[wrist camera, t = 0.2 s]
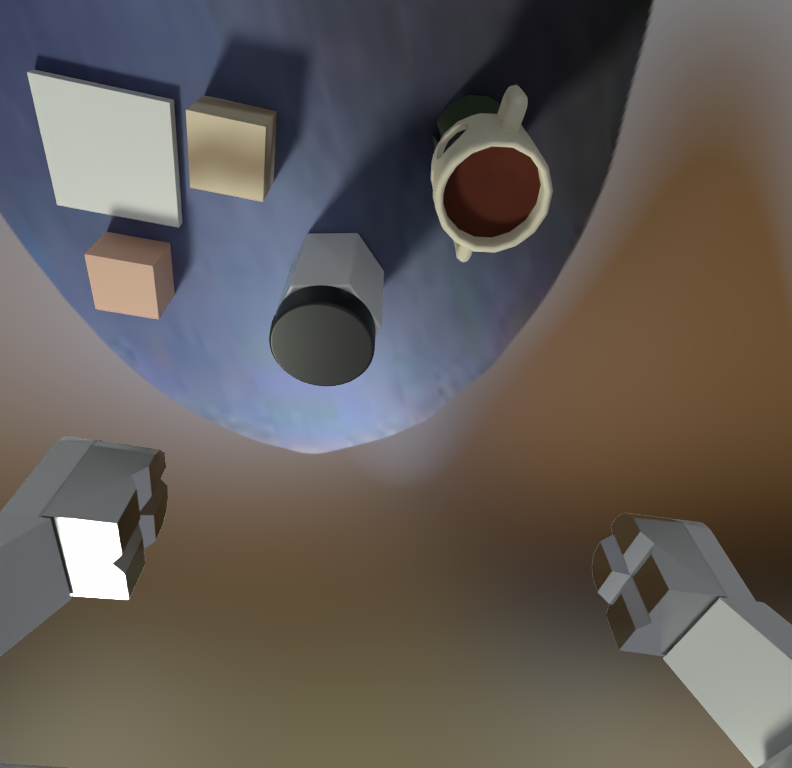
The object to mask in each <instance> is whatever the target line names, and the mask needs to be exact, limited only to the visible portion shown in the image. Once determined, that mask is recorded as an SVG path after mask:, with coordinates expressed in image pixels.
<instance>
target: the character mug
mask: <svg viewBox="0 0 792 768" xmlns="http://www.w3.org/2000/svg"><path fill="white" fill-rule="evenodd" d="M527 104H528V99H527V96H526V94H525V93H524V92H523V90H522V89H521V88H520V87H519V86H518V85H513V86H509V87H508V89H507V90H506V92H505V94H504V96H503V99H502V101H501V104H500V103H498V102H497V101H495V100H493V99H492V98H490V97H488V96H479V95H467V96H465V97H463V98H461V99H459V100H456V101H454V102H452V103H450V105H449V106H448V107H447V108H446V109H445V110H444V112H443V113H442V114H441V115H440V116H439V117H438V120H437V124H438V127H439V130H440V133H439V143H438V142H437V141H436V139H435V136H434V135H433V138H432V141H433V146H434V154H433V158H432V164H431V182H432V186H433V200H434V203H435V209H436V212H437V215H438V217H439V220H440V223H441V226H442V228H443V229H444V230H445V231H446V232H447V233H448V235H449V236H450V237H451V238H452V239H453V240H454V243H455V249H456V255H457V258H458V259H459V260H460V261H461V262H466V261H468V260H469V258H470V257H471V255H472V253H473V251H475V252H498V251H501V250H504V249H508V248H511V247H514V246H517V245H518V244H519V243H521V242H522V241H523V240H525V239H526V238H528V237H529V236H530V235H532V234H533V233H534V232H535V231H536V230H537V228H538V227H539V225H540V224H541V222H542V221H543V219H544V218H545V217H546V215H547V214H548V210H549V205H550V201H551V197H552V193H553V189H552V183H551V177H550V172H549V167H548V165H547V163H546V162H545V160H544V159H543V157H542V155H541V154H540V152H539V151H538V149H537V147H536V146H535V144H534V143H533V141H532V140H531V138H530V137H529V135H528V134H527V132H526V131H525V129H524V128H523V126H522V125H521V123H522V120H523V118H524V115H525V112H526V109H527Z"/></svg>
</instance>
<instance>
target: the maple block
mask: <svg viewBox="0 0 792 768" xmlns="http://www.w3.org/2000/svg"><path fill="white" fill-rule="evenodd" d="M186 121H187V139H188V157H189V175H190V188H195V189H200V190H205V191H210V192H215V193H220V194H226V195H231V196H236V197H241V198H246V199H251V200H256V201H261V202H263V201H264V199H265V197H266V195H267V193H268V192H269V190H270V188H271V186H272V184H273V182H274V164H275V143H276V122H277V111H274V110H269V109H265V108H260V107H255V106H251V105H246V104H242V103H237V102H233V101H228V100H223V99H219V98H214V97H210V96H205V95H204V96H202V97H201V98H200V99H199V100H197V101H196V102H195V103H194V104H192V105H191V106H190V107H189V108H188V109H186Z"/></svg>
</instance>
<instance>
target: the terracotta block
mask: <svg viewBox="0 0 792 768" xmlns="http://www.w3.org/2000/svg"><path fill="white" fill-rule="evenodd" d="M84 255H85V260H86V264H87V269H88V274H89V279H90V284H91V289H92V293H93V298H94V303H95V308H96V309H98V310H104V311H110V312H116V313H122V314H129V315H135V316H141V317H147V318H153V319H159V318H160V317H161V315H162V314H163V312H164V311H165V309H166V307H167V306H168V304H169V303H170V301H171V300H172V298H173V296H174V295H175V292H174V281H173V270H172V259H171V247H170V243H167V242H161V241H156V240H150V239H145V238H139V237H134V236H128V235H123V234H117V233H112V232H106V233H105V234H104V235H103V236H102V237H101V238H100V239H99V240H98V241H97V242H96V243H95V244H94V245H93V246H92V247H91V248H90V249H89V250H88V251H87V252H86V253H85V254H84Z"/></svg>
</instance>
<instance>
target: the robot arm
mask: <svg viewBox="0 0 792 768" xmlns="http://www.w3.org/2000/svg"><path fill="white" fill-rule="evenodd" d="M165 468H166V462H165V453H164V452H162V451H161V450H157V449H151V448H144V447H138V446H132V445H125V444H120V443H113V442H107V441H101V440H99V441H97V440H91V439H84V438H77V437H72V436H65V437H63V438H61V439H60V440H58V441H57V442H56V443H55V444H54V445H53V446H52V448H51V449H50V450H49V451H48V453H47V454H46V455H45V456H44V458H43V459H42V460H41V461H40V463H39V464H38V465H37V466H36V468H35V469H34V470H33V471H32V473H31V474H30V475H29V476H28V477H27V479H26V480H25V481H24V483H23V484H22V485H21V486H20V487H19V489H18V490H17V491H16V492H15V494H14V495H13V496H12V497H11V499H10V500H9V501H8V502H7V504H6V505H5V506H4V507H3V509H2V510H1V511H0V656H1V655H3V654H4V653H5V652H6V651H8V650H9V649H10V648H11V647H13V646H14V645H15V644H16V643H18V642H19V641H20V640H21V639H22V638H24V637H25V636H26V635H27V634H28V633H30V632H31V631H32V630H34V629H35V628H36V627H37V626H38V625H40V624H41V623H42V622H43V621H44V620H46V619H47V618H48V617H50V616H51V615H52V614H53V613H54V612H56V611H57V610H58V609H59V608H61V607H62V606H63V605H64V604H66V603H67V602H68V601H69V600H70V599H71V595H72V596H85V597H99V598H111V599H125V600H129V598H130V596H131V594H132V592H133V589H134V587H135V585H136V583H137V581H138V578H139V576H140V574H141V572H142V570H143V567H144V566H145V554H144V548H146V547H147V546H149V545H150V544H152V543H153V542H155V541H156V539H157V537H158V534H159V532H160V530H161V527H162V525H163V521H164V517H165V514H166V510H167V501H168V487H167V485H166V484H165V483H164V482H163V481H162V480H161V479H160V478H161V476H162V474H163V472H164V470H165ZM611 529H612V532H613V535H612V536H610V537H608V538H606V539H604V540H603V541H601V542H600V543H599V545H598V547H597V549H596V550H595V552H594V555H593V562H592V574H593V580H594V583H595V586H596V589H597V592H598V593H599V594H600V595H601V596H602V597H603V598H604V599H605V600H606V601H607V602H608V603H609V607H608V610H607V613H606V617H607V619H608V622H609V625H610V627H611V630H612V633H613V636H614V638H615V641H616V643H617V646H618V649H619V650H621V651H628V652H636V653H644V654H651V655H659V656H665V657H664V658H663V659H664V660H665V662H667V664H668V665H669V666H670V668H671V669H672V670H673V671H674V672H675V673H676V675H677V676H678V677H679V678H680V679H681V681H682V682H683V683H684V684H685V685H686V687H687V688H688V689H689V690H690V691H691V692H692V694H693V695H694V696H695V697H696V699H698V701H699V702H700V703H701V704H702V706H703V707H704V708H705V709H706V710H707V712H708V713H709V714H710V715H711V716H712V718H713V719H714V720H715V721H716V722H717V724H718V725H719V726H720V727H721V728H722V729H723V731H724V732H725V733H726V734H727V735H728V737H729V738H730V739H731V740H732V741H733V743H734V744H735V745H736V746H737V747H738V749H739V750H740V751H741V752H742V753H743V755H744V756H745V757H746V758H747V759H748V761H749V762H750V763H751V764H752V765H753V766H754V768H792V625H791V624H790V623H789V622H787V621H786V620H785V619H783V618H782V617H781V616H780V615H779V614H777V613H776V612H775V611H774V610H772V609H771V608H770V607H769V606H767V605H766V604H765V603H761V602H756V601H755V599H754V598H753V596H752V595H751V593H750V592H749V590H748V588H747V587H746V585H745V584H744V582H743V580H742V579H741V577H740V576H739V574H738V573H737V571H736V569H735V568H734V566H733V565H732V563H731V562H730V560H729V558H728V557H727V555H726V554H725V552H724V551H723V549H722V548H721V546H720V544H719V543H718V541H717V540H716V538H715V536H714V535H713V533H712V532H711V530H710V529H709V528H708V527H707V526H705V525H704V524H703V523H701V522H693V521H684V520H677V519H676V520H673V519H669V518H661V517H653V516H645V515H637V514H629V513H623V514H621V515H619V516H618V517H616V519H615V520H614V522H613V523H612V525H611ZM0 768H67V767H52V766H36V765H21V764H6V763H0Z"/></svg>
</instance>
